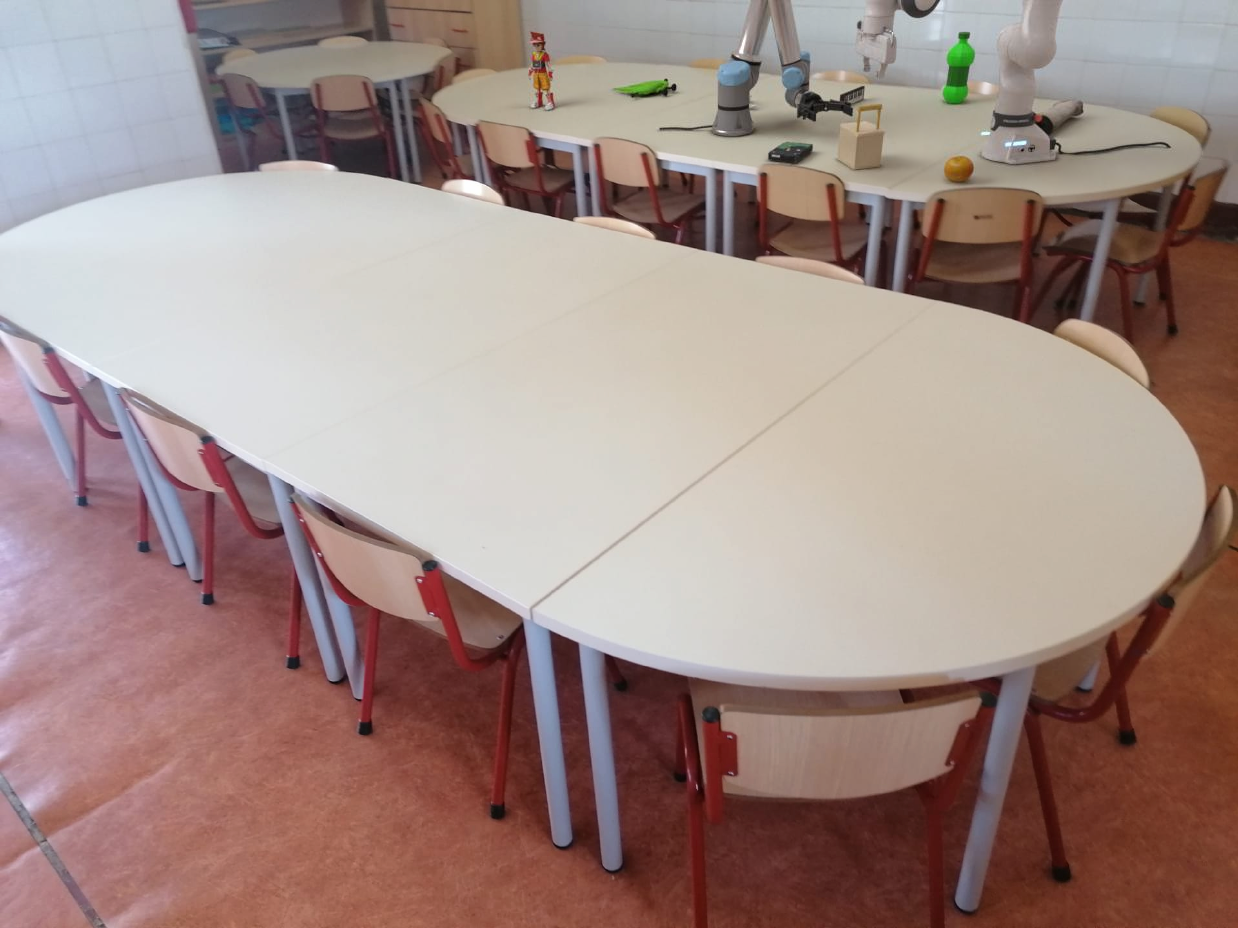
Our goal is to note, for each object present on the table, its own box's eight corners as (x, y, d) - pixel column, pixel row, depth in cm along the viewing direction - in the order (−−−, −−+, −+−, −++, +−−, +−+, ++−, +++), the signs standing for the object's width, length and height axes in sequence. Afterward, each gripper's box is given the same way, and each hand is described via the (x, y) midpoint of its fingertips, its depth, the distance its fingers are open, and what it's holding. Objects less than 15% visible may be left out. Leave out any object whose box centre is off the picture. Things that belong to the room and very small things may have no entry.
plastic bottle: (973, 101, 354) (984, 32, 339) (955, 106, 349) (966, 36, 335) (952, 97, 361) (962, 29, 346) (934, 102, 356) (944, 33, 342)
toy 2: (686, 85, 398) (631, 84, 414) (685, 72, 395) (629, 72, 411) (651, 104, 381) (596, 103, 397) (650, 92, 378) (594, 91, 394)
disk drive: (796, 164, 299) (812, 151, 309) (796, 156, 298) (813, 143, 308) (767, 161, 304) (784, 148, 314) (767, 152, 302) (785, 140, 312)
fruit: (938, 171, 273) (955, 148, 270) (938, 174, 281) (955, 151, 278) (961, 187, 272) (979, 164, 269) (961, 189, 280) (978, 166, 277)
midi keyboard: (841, 108, 355) (842, 95, 352) (838, 108, 356) (840, 94, 353) (863, 99, 366) (865, 86, 363) (860, 98, 366) (862, 86, 364)
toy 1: (525, 109, 381) (517, 32, 364) (534, 104, 388) (527, 28, 371) (550, 110, 377) (543, 32, 360) (559, 105, 384) (553, 28, 367)
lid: (884, 133, 286) (887, 105, 281) (858, 137, 285) (860, 109, 280) (865, 123, 297) (868, 96, 292) (840, 127, 296) (842, 99, 291)
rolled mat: (1050, 105, 332) (1075, 87, 323) (1064, 125, 332) (1089, 108, 324) (1018, 127, 314) (1043, 109, 306) (1032, 149, 315) (1057, 131, 306)
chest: (880, 166, 293) (883, 133, 287) (854, 169, 291) (857, 136, 285) (862, 156, 303) (865, 124, 297) (837, 159, 302) (840, 127, 296)
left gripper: (840, 108, 331) (866, 121, 314) (776, 118, 328) (799, 131, 311) (841, 87, 327) (867, 98, 310) (777, 96, 324) (799, 108, 306)
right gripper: (904, 30, 262) (898, 80, 270) (872, 19, 279) (868, 67, 287) (884, 32, 261) (879, 82, 269) (853, 21, 278) (849, 69, 286)
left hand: (833, 115), depth 310 cm, fingers open, 13 cm apart
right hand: (873, 74), depth 278 cm, fingers open, 8 cm apart
